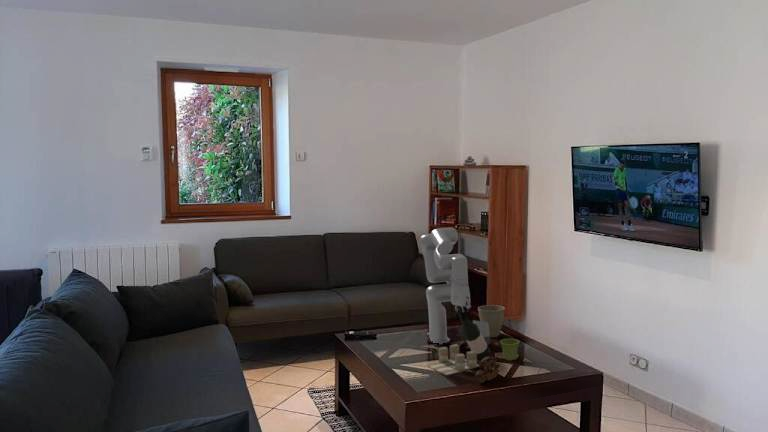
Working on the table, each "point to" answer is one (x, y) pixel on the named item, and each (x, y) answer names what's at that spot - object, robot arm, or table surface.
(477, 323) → the smart speaker
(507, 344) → the plant pot
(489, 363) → the wooden carving
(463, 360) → the rest
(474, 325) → the wine bottle
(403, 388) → the table surface
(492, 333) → the plant pot
